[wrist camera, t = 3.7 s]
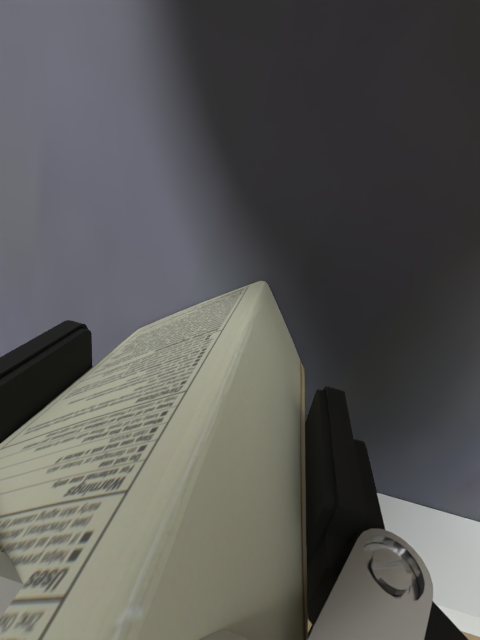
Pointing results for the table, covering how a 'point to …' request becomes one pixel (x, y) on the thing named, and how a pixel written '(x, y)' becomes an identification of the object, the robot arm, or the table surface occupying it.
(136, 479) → the skincare box
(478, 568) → the acrylic wall
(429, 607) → the robot arm
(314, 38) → the table surface
